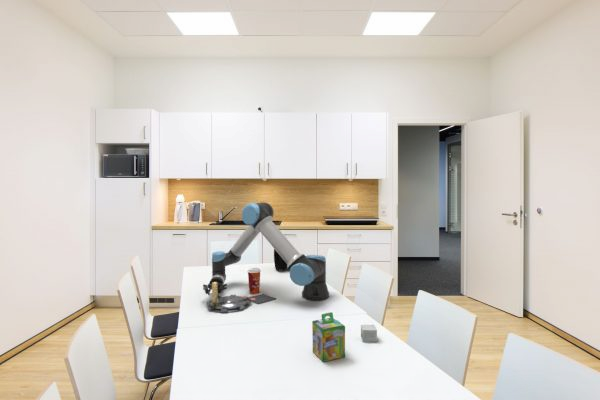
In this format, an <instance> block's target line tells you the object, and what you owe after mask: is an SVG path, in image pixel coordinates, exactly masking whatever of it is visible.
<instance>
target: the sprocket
mask: <svg viewBox="0 0 600 400" xmlns="http://www.w3.org/2000/svg"><path fill="white" fill-rule="evenodd" d="M249 297H250V296H247V295H243V296H240V295H236V294H230V295H226V296H225V295H224V296H218V290H217V282H212V298H211V300H207V301H206V302H205V305H206V306H207V305H210V306H208V309H210V310H213V309H217V310H221V312H227V311H228V310H233V309H239V310H241V309H244V306H246V305H247V304H250V305H252V303H253V302H252V300H248V299H249ZM208 309H207V310H208Z"/></svg>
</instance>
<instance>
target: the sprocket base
mask: <svg viewBox="0 0 600 400" xmlns="http://www.w3.org/2000/svg"><path fill="white" fill-rule="evenodd" d="M208 306H210V305H206V308H207V310H208V311H210V312H212V313H219V314H231V313H232V314H233V313H238V312H241V311H244V310H247V309H248V308H249V307H250V306H251V304H247V305H246V306H244V309H241V310H239V309H233V310H228V311H227V312H221V310H217V309H213V310H210V309H208Z"/></svg>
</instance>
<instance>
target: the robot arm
mask: <svg viewBox="0 0 600 400" xmlns="http://www.w3.org/2000/svg"><path fill="white" fill-rule="evenodd" d="M274 214H275V213H274V208H273V206H272V205H271V204H269V203H268V202H264V201H263V202H262V201H261V202H251V203H247V204H246V205H245V206H244V207H243V208H242V211H241V219H242V221H243V223H244V224H245V225H248V226H247V227H246V229H245V230H243V232H242V233H241V235H240V236H239V238H238V239H237V240H236V242H235V243H234V244H233V246H232V247H231V249H230V250H229V251H228V252H225V251H221V250H220V251H214V252H212V255H211V256H212V257H211V268H212V271H211V275H212V276H211V279H210V281H209V283H208V284H204V283H203V286H202V289H203V291H204V292H205V295H208V297H209V299H212V282H217V290H218V294H221V293H222V292H224V290H227V289H228V285H227V284H228V283H225V281H226V280H227V274H226V267H227V266H230V265H233V264H237V263H239V262H240V261H241V259H242V255H243V254H244V252H245V251H246V250H247V249H248V248H249V246H250V245H251V244H252V242H253V241H254V240H255V239H256V238H257V236H258V235H259V234H260V233H261V235H262V236H263V237H264V238H265V239H266V240H267V242H269V244H270V246H271V247H272V248H273V250H274V249H275V250H276V251H277V253H278V254H279V255H280V256H281V257H282V259H283V260H284V261H285V262H286V263H287V269H288V270H287V269H286V270H287V271H288V272H289V278H290V280H291V281H292V283H294V284H295V285H297V286H298V287H299V286H300V287H303V289H302V291H301V297H302V298H303V299H304V300H307V301H308V300H309V301H323V300H327V299H329V298H330V291H329V290H328V286H327V282H326V281H327V276H326V275H327V271H326V270H327V268H326V267H327V264H326V263H327V262H326V257H325V256H324V255H319V254H317V255H316V254H304V253H300V252H299V251H298V250H297V249H296V248H295V246H294V245H293V244H292V243H291V241H290V240H289V239H288V238H287V237H286V236H285V234H284V233H283V232H282V231H281V230H280V229H279V228H278V226H277V225H276V224H275V223H274V222H273V218H274Z"/></svg>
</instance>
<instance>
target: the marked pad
mask: <svg viewBox="0 0 600 400" xmlns="http://www.w3.org/2000/svg"><path fill="white" fill-rule="evenodd" d="M248 297H249V299H248V300H252V303H254V304H257V305H262V304H264V303H268V302H271V301H276V300H277V297H274V296H272V295H269V294H265V293H261V294H260V293H259V294H255V295H252V296H248Z"/></svg>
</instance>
